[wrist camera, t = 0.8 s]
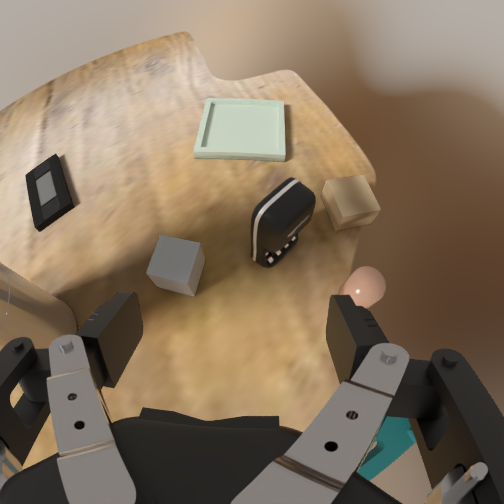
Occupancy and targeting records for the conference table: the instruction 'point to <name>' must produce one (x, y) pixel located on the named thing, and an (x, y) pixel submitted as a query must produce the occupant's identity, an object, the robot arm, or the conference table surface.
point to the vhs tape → (48, 193)
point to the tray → (241, 130)
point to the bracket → (388, 446)
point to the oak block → (349, 202)
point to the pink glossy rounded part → (364, 286)
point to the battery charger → (280, 221)
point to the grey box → (176, 264)
